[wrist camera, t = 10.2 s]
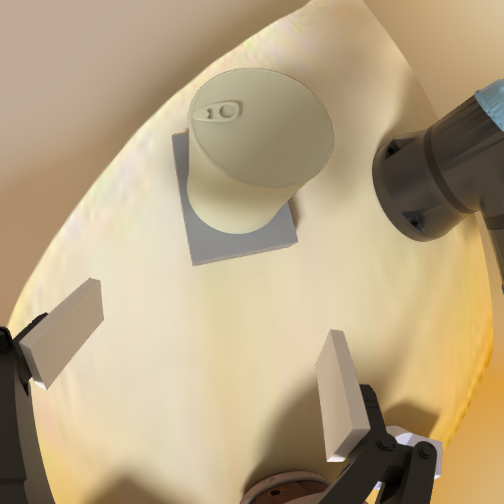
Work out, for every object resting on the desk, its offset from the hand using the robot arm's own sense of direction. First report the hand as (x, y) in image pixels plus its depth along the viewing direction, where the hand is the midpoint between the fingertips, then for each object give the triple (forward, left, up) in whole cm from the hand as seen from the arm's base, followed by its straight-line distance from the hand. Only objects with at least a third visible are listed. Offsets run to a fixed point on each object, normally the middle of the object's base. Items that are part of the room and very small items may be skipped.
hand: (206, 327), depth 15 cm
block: (-5, -11, -13) cm, 18 cm away
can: (-6, -11, -10) cm, 16 cm away
